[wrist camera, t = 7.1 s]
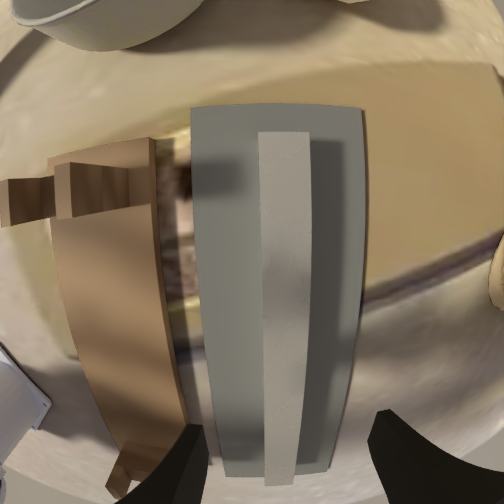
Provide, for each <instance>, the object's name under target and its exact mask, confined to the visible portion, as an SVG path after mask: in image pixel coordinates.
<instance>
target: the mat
mask: <svg viewBox="0 0 504 504" xmlns="http://www.w3.org/2000/svg"><path fill="white" fill-rule="evenodd" d="M258 132H309V139H310V163H311V208H312V245H311V290H310V315H309V334H308V350H307V364H306V376H305V388H304V399H303V409H302V418H301V427H300V435H299V443H298V451H297V458H296V466H295V472H294V475H304V474H313V473H321V472H327V469H328V466H329V462H330V459H331V455H332V452H333V448H334V444H335V440H336V437H337V433H338V429H339V424H340V420H341V416H342V412H343V407H344V402H345V398H346V393H347V388H348V382H349V377H350V371H351V366H352V360H353V353H354V347H355V340H356V333H357V325H358V317H359V308H360V298H361V287H362V275H363V260H364V241H365V159H364V140H363V126H362V114H361V108H354V107H344V106H331V105H316V104H284V103H266V104H235V105H219V106H206V107H196V108H191V173H192V199H193V219H194V235H195V250H196V263H197V276H198V287H199V298H200V308H201V317H202V327H203V335H204V344H205V352H206V360H207V367H208V375H209V382H210V389H211V395H212V402H213V408H214V415H215V421H216V427H217V433H218V438H219V444H220V449H221V455H222V460H223V465H224V470H225V475H226V477H264V392H263V330H262V281H261V240H260V204H259V171H258Z"/></svg>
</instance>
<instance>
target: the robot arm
mask: <svg viewBox="0 0 504 504" xmlns="http://www.w3.org/2000/svg"><path fill="white" fill-rule="evenodd" d="M51 405H52V403H51V401H50V399H49V398H48V397H47V396H46V395H44V394H43V393H42V392H41V391H40V390H39V389H38V388H37V387H36V386H35V385H34V384H33V383H32V382H31V381H30V379H29V378H28V377H27V376H26V375H25V374H24V373H23V372H22V371H21V370H20V369H19V368H18V366H17V365H16V364H15V363H14V362H13V361H12V360H11V358H10V357H9V356H8V355H7V354H6V352H5V351H4V350H3V349H2V348H1V346H0V504H3V503H4V501H5V498H6V482H5V480H4V478H3V476H4V474H5V473H6V471H5V470H4V469H3V468H2V467H1V466H2V464H3V463H4V461H5V460H6V459H7V457H8V456H9V455H10V453H11V452H12V451H13V449H14V448H15V447H16V445H17V444H18V443H19V442H20V440H21V439H22V438H23V436H24V435H25V434H26V433H27V431H28V430H29V429H30V430H31V431H33V432H36V430H37V428H38V427H39V425H40V423H41V422H42V420H43V418H44V416H45V415H46V413H47V411H48V410H49V408H50V406H51ZM367 442H368V446H369V450H370V454H371V458H372V461H373V464H374V466H375V468H376V471H377V473H378V476H379V478H380V481H381V483H382V485H383V488H384V490H385V493H386V495H387V497H388V501H389V504H504V472H499V471H493V470H489V469H485V468H482V467H479V466H475V465H473V464H470V463H467V462H465V461H463V460H460V459H458V458H456V457H454V456H452V455H450V454H449V453H447V452H445V451H443V450H442V449H440V448H439V447H437V446H436V445H434V444H433V443H431V442H430V441H428V440H427V439H425V438H424V437H423V436H422V435H420V434H419V433H418V432H416V431H415V430H414V429H413V428H412V427H410V426H409V425H408V424H407V423H406V422H404V421H403V420H402V419H401V418H400V417H399V416H397V415H396V414H395V413H394V412H393V411H392V410H390V409H388V410H383V411H379V412H377V414H376V417H375V421H374V424H373V426H372V429H371V432H370V435H369V438H368V441H367ZM208 456H209V452H208V448H207V444H206V439H205V435H204V430H203V425H196V424H187V425H185V427H184V429H183V430H182V432H181V434H180V435H179V437H178V438H177V440H176V441H175V443H174V444H173V446H172V447H171V449H170V450H169V451H168V453H167V454H166V455H165V456H164V458H163V459H162V460H161V462H160V463H159V464H158V465H157V466H156V467H155V468H154V470H153V471H152V472H151V473H150V474H149V475H148V476H147V477H146V478H145V479H144V480H143V481H142V482H141V483H140V484H139V485H138V486H137V487H135V488H134V489H133V490H132V491H131V492H129V493H128V494H127V495H125V496H124V497H123V498H122V499H120V500H119V501H117V502H116V503H114V504H200V503H201V499H202V494H203V490H204V485H205V481H206V476H207V468H208Z"/></svg>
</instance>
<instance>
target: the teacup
mask: <svg viewBox="0 0 504 504" xmlns="http://www.w3.org/2000/svg"><path fill="white" fill-rule="evenodd" d="M203 1H204V0H10V13H11V16H12V18H13V20H14V21H15V22H16V23H18V24H19V25H23V26H26V27H33V28H35V29H36V30H38V31H40V32H42V33H44V34H46V35H48V36H50V37H53V38H55V39H57V40H59V41H61V42H63V43H66V44H68V45H71V46H73V47H76V48H79V49H82V50H88V51H99V52H102V51H114V50H120V49H125V48H129V47H132V46H135V45H138V44H141V43H144V42H146V41H148V40H151V39H153V38H155V37H157V36H159V35H161V34H163V33H164V32H166V31H168V30H169V29H171V28H173V27H174V26H176V25H177V24H179V23H180V22H181V21H183V20H184V19H185V18H186V17H188V16H189V15H190V14H191V13H192V12H194V11H195V10H196V9H197V8H198V7H199V6H200V4H201V3H202V2H203Z"/></svg>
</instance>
